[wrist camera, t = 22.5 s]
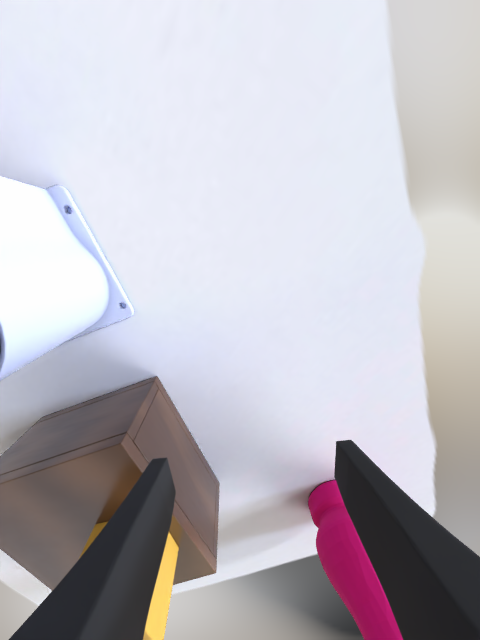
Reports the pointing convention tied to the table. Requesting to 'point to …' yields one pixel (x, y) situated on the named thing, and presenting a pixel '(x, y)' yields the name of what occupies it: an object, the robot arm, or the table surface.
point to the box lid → (81, 510)
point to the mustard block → (161, 590)
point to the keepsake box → (146, 433)
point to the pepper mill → (350, 565)
